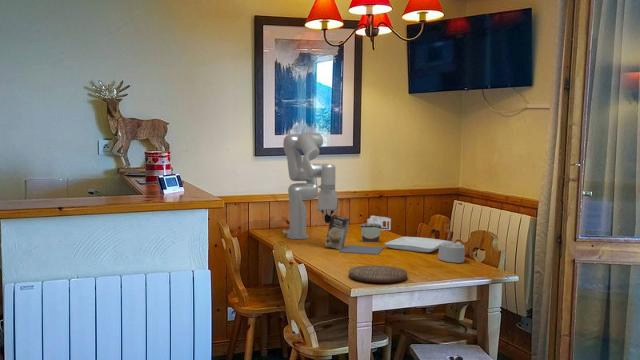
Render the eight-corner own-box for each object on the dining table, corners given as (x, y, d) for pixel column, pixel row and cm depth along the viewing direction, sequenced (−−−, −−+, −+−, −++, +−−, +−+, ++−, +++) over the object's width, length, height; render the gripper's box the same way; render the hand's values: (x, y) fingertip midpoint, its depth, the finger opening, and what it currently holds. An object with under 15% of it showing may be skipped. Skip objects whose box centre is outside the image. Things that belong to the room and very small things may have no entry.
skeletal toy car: (364, 226, 406) (364, 215, 406) (380, 226, 410) (380, 215, 409) (377, 231, 387) (377, 219, 387) (393, 231, 391) (393, 219, 390)
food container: (381, 241, 351) (382, 223, 351) (381, 243, 345) (382, 225, 345) (360, 240, 353) (360, 223, 352) (359, 242, 347) (360, 224, 346)
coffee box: (324, 245, 325) (330, 215, 323) (327, 243, 331) (334, 214, 329) (340, 250, 322) (346, 220, 320) (344, 248, 328) (350, 218, 326)
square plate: (403, 242, 351) (403, 235, 351) (450, 247, 337) (450, 240, 337) (383, 249, 328) (383, 242, 328) (432, 255, 314) (432, 247, 314)
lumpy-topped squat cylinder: (452, 256, 309) (452, 239, 309) (469, 261, 298) (470, 243, 297) (435, 258, 305) (436, 240, 304) (452, 263, 293) (453, 245, 292)
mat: (339, 252, 316) (339, 251, 316) (347, 245, 335) (347, 244, 335) (377, 254, 311) (378, 253, 311) (383, 247, 330) (383, 247, 330)
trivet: (406, 284, 251) (406, 279, 251) (345, 280, 256) (345, 276, 255) (408, 271, 276) (408, 267, 276) (352, 268, 280) (352, 264, 280)
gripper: (312, 188, 323) (312, 223, 325) (340, 189, 320) (339, 224, 321) (316, 187, 331) (315, 221, 332) (343, 187, 327) (343, 222, 328)
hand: (327, 222), depth 326 cm, fingers closed
